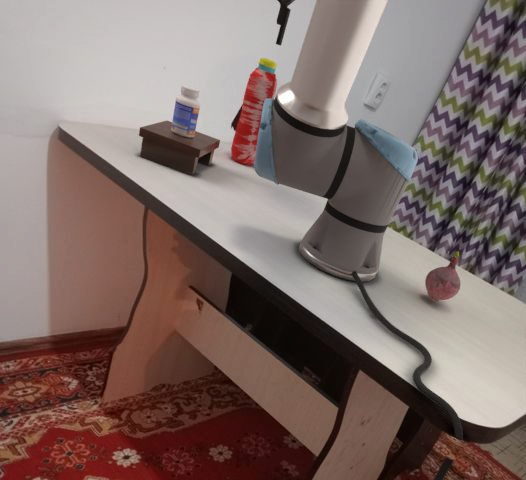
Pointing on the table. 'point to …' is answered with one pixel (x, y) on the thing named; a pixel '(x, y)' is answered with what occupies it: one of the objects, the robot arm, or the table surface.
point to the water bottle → (253, 111)
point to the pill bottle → (186, 112)
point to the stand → (176, 147)
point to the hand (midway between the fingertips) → (308, 56)
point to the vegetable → (443, 281)
